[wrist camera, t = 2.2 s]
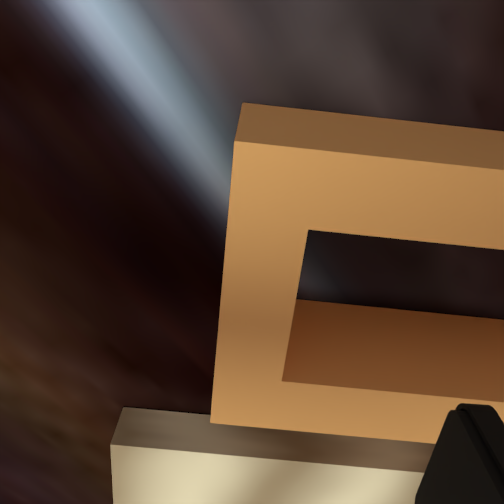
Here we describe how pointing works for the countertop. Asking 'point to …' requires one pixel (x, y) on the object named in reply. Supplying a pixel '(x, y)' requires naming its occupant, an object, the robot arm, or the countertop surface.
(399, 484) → the backing board
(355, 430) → the orange rectangular frame
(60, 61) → the countertop surface
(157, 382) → the countertop surface
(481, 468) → the robot arm
